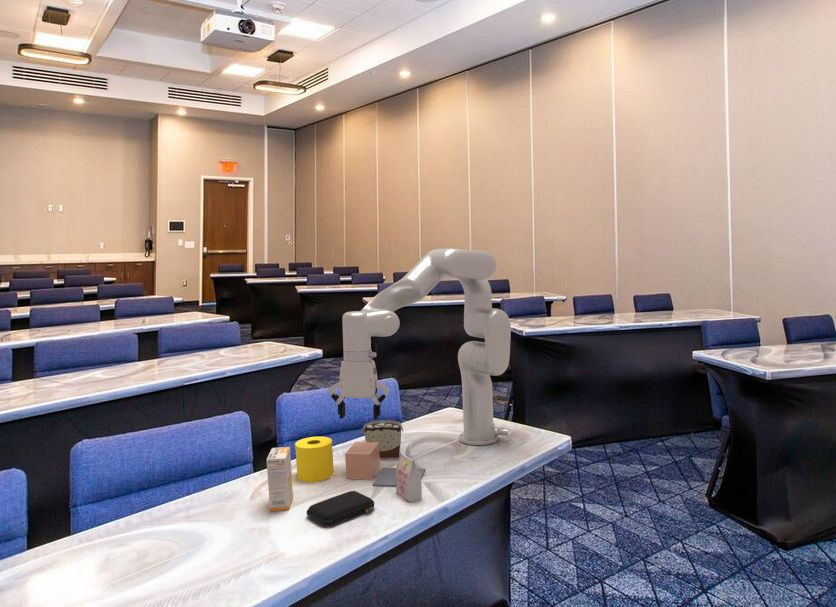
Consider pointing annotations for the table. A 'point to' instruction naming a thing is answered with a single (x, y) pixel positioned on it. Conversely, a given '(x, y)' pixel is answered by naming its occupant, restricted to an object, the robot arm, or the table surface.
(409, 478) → the tea bag
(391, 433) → the food container
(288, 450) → the supplement box
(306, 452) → the yellow toilet paper roll
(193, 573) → the table surface
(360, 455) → the terracotta block
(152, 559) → the table surface
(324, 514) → the carrying case or bag
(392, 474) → the slate coaster
